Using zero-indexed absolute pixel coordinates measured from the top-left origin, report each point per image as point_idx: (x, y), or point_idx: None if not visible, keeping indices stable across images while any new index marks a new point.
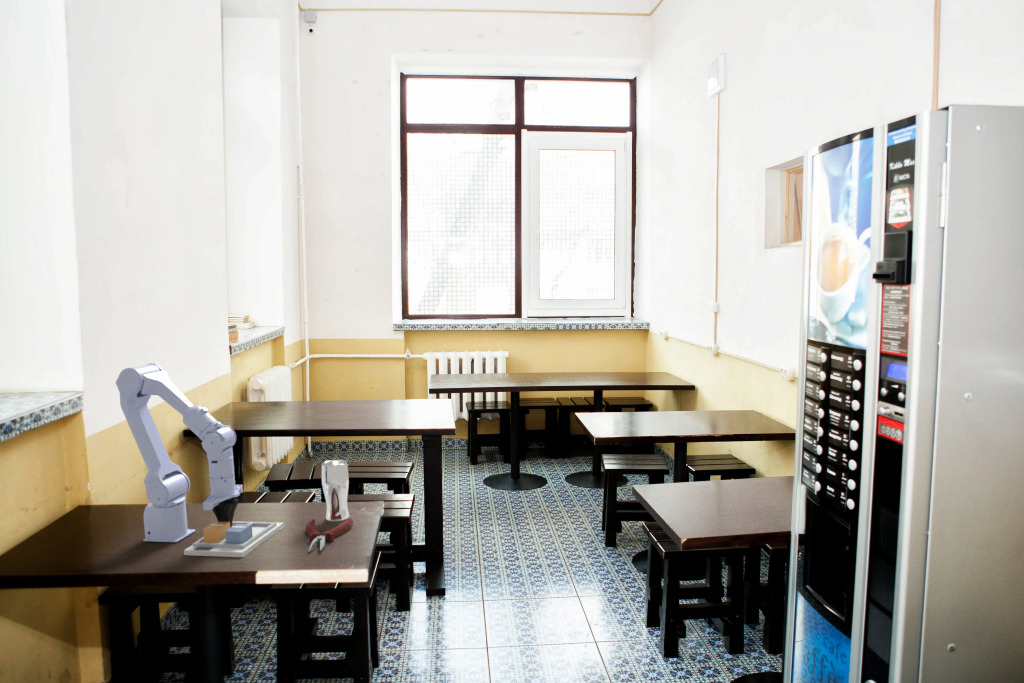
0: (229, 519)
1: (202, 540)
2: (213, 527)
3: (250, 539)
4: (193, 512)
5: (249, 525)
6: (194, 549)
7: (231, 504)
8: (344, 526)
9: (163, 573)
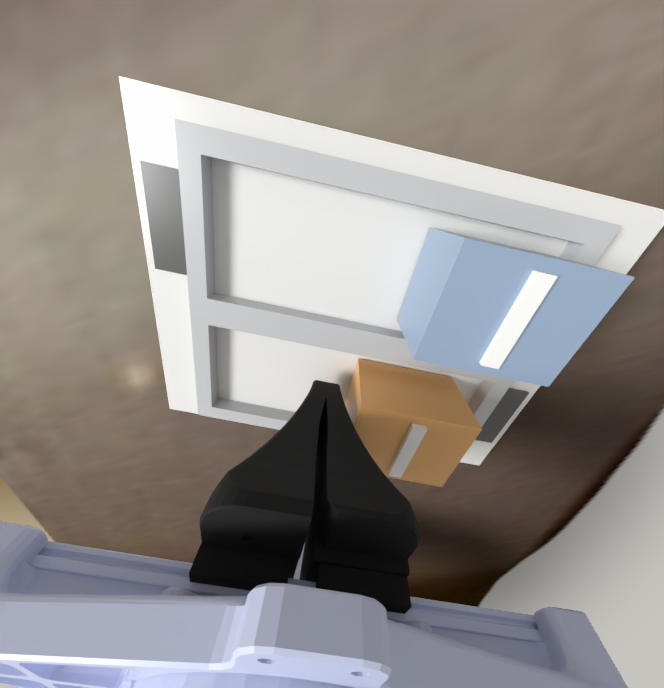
0: (341, 418)
1: None
2: (439, 455)
3: (516, 215)
4: (99, 510)
5: (490, 248)
6: (493, 440)
7: (379, 517)
8: None
9: (625, 459)
